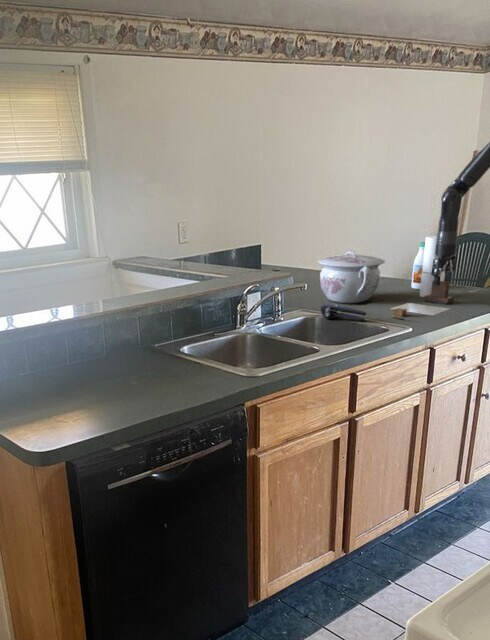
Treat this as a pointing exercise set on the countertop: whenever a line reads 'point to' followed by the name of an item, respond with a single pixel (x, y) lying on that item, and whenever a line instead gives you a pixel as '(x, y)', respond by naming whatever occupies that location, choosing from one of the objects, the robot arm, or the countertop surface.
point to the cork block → (399, 313)
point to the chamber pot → (349, 277)
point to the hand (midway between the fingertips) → (441, 284)
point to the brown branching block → (439, 294)
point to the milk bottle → (418, 267)
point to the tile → (421, 308)
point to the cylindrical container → (428, 266)
